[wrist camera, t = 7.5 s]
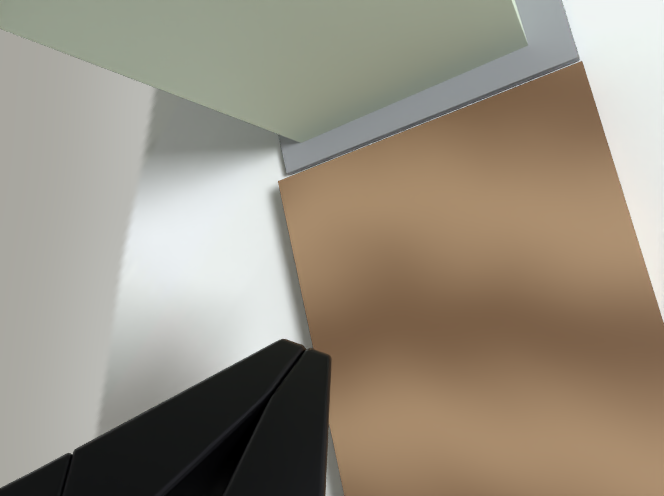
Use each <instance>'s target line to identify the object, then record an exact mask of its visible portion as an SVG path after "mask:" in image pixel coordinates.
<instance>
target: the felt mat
mask: <svg viewBox="0 0 664 496" xmlns="http://www.w3.org/2000/svg"><path fill="white" fill-rule="evenodd" d="M515 2H516V6H517V9H518V12H519V16H520V19H521V23H522V26H523V29H524V33H525V36H526V39H527V43H528V46H526V47H523V48H521V49H519V50H516V51H514V52H512V53H509V54H507V55H505V56H502V57H500V58H498V59H495V60H493V61H491V62H488V63H486V64H484V65H481V66H479V67H477V68H474V69H472V70H470V71H467V72H465V73H463V74H460V75H458V76H456V77H453V78H451V79H449V80H446V81H444V82H442V83H439V84H437V85H435V86H432V87H430V88H428V89H425V90H423V91H421V92H418V93H416V94H414V95H411V96H409V97H407V98H405V99H402V100H400V101H398V102H395V103H393V104H391V105H388V106H386V107H384V108H381V109H379V110H377V111H374V112H372V113H370V114H367V115H365V116H363V117H360V118H358V119H356V120H353V121H351V122H349V123H346V124H344V125H342V126H339V127H337V128H335V129H332V130H330V131H328V132H325V133H323V134H321V135H318V136H316V137H314V138H311V139H309V140H307V141H304V142H302V143H300V142H297V141H295V140H292V139H290V138H287V137H284V136H282V135H279V134H278V135H279V140H280V145H281V149H282V154H283V159H284V163H285V168H286V173H287V174H290V175H292V174H294V173H297V172H299V171H302V170H304V169H307V168H309V167H312V166H314V165H317V164H319V163H322V162H324V161H327V160H330V159H332V158H335V157H337V156H340V155H342V154H345V153H347V152H350V151H352V150H355V149H357V148H360V147H362V146H365V145H367V144H370V143H372V142H375V141H377V140H380V139H382V138H385V137H387V136H390V135H392V134H395V133H398V132H400V131H403V130H405V129H408V128H410V127H413V126H415V125H418V124H420V123H423V122H425V121H428V120H430V119H433V118H435V117H438V116H440V115H443V114H445V113H448V112H450V111H453V110H455V109H458V108H461V107H463V106H466V105H468V104H471V103H473V102H476V101H478V100H481V99H483V98H486V97H488V96H491V95H493V94H496V93H498V92H501V91H503V90H506V89H508V88H511V87H513V86H516V85H518V84H521V83H524V82H526V81H529V80H531V79H534V78H536V77H539V76H541V75H544V74H546V73H549V72H551V71H554V70H556V69H559V68H561V67H564V66H566V65H569V64H571V63H574V62H576V61H579V60H580V59H579V55H578V51H577V48H576V45H575V42H574V38H573V35H572V32H571V29H570V26H569V22H568V19H567V16H566V13H565V9H564V6H563V3H562V0H515Z"/></svg>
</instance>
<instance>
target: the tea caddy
mask: <svg viewBox="0 0 664 496" xmlns="http://www.w3.org/2000/svg"><path fill="white" fill-rule="evenodd" d="M0 29H2V30H4V31H7V32H10V33H13V34H15V35H18V36H20V37H23V38H26V39H28V40H31V41H34V42H36V43H39V44H41V45H44V46H47V47H49V48H52V49H55V50H57V51H60V52H62V53H65V54H68V55H70V56H73V57H76V58H78V59H81V60H84V61H87V62H89V63H92V64H94V65H97V66H99V67H102V68H105V69H108V70H110V71H113V72H115V73H118V74H121V75H123V76H126V77H128V78H131V79H134V80H136V81H139V82H142V83H145V84H147V85H150V86H152V87H155V88H158V89H160V90H163V91H165V92H168V93H171V94H173V95H176V96H179V97H181V98H184V99H187V100H189V101H192V102H194V103H197V104H200V105H202V106H205V107H208V108H210V109H213V110H216V111H218V112H221V113H224V114H226V115H229V116H231V117H234V118H237V119H239V120H242V121H245V122H247V123H250V124H253V125H255V126H258V127H260V128H263V129H266V130H268V131H271V132H274V133H276V134H279V135H282V136H284V137H287V138H290V139H292V140H295V141H297V142H300V143H302V142H304V141H307V140H309V139H311V138H314V137H316V136H318V135H321V134H323V133H325V132H328V131H330V130H332V129H335V128H337V127H339V126H342V125H344V124H346V123H349V122H351V121H353V120H356V119H358V118H360V117H363V116H365V115H367V114H370V113H372V112H374V111H377V110H379V109H381V108H384V107H386V106H388V105H391V104H393V103H395V102H398V101H400V100H402V99H405V98H407V97H409V96H411V95H414V94H416V93H418V92H421V91H423V90H425V89H428V88H430V87H432V86H435V85H437V84H439V83H442V82H444V81H446V80H449V79H451V78H453V77H456V76H458V75H460V74H463V73H465V72H467V71H470V70H472V69H474V68H477V67H479V66H481V65H484V64H486V63H488V62H491V61H493V60H495V59H498V58H500V57H502V56H505V55H507V54H509V53H512V52H514V51H516V50H519V49H521V48H523V47H526V46H528V43H527V39H526V36H525V33H524V29H523V26H522V23H521V19H520V16H519V12H518V9H517V6H516V2H515V0H0Z"/></svg>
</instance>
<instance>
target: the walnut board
mask: <svg viewBox="0 0 664 496" xmlns="http://www.w3.org/2000/svg"><path fill="white" fill-rule="evenodd" d="M278 184H279V189H280V193H281V198H282V203H283V208H284V212H285V217H286V222H287V227H288V231H289V236H290V241H291V245H292V250H293V255H294V260H295V264H296V269H297V274H298V279H299V283H300V288H301V293H302V298H303V302H304V307H305V312H306V316H307V321H308V326H309V331H310V335H311V340H312V345H313V349H315V350H318V351H321V352H323V353H326V354H329V355H330V356H331V358H332V365H331V386H330V407H329V425H330V430H331V435H332V439H333V444H334V449H335V454H336V458H337V463H338V468H339V473H340V477H341V482H342V487H343V492H344V496H664V323H663V320H662V316H661V313H660V310H659V307H658V304H657V300H656V297H655V294H654V291H653V287H652V284H651V281H650V278H649V275H648V271H647V268H646V265H645V262H644V258H643V255H642V252H641V249H640V246H639V242H638V239H637V236H636V233H635V230H634V226H633V223H632V220H631V217H630V213H629V210H628V207H627V204H626V201H625V197H624V194H623V191H622V188H621V184H620V181H619V178H618V175H617V172H616V168H615V165H614V162H613V159H612V156H611V152H610V149H609V146H608V143H607V139H606V136H605V133H604V130H603V127H602V123H601V120H600V117H599V114H598V111H597V107H596V104H595V101H594V98H593V94H592V91H591V88H590V85H589V82H588V78H587V75H586V72H585V69H584V65H583V62H582V61H581V62H578V63H576V64H573V65H571V66H568V67H566V68H563V69H560V70H558V71H555V72H553V73H550V74H548V75H545V76H543V77H540V78H538V79H535V80H533V81H530V82H528V83H525V84H523V85H520V86H518V87H515V88H512V89H510V90H507V91H505V92H502V93H500V94H497V95H495V96H492V97H490V98H487V99H485V100H482V101H480V102H477V103H475V104H472V105H469V106H467V107H464V108H462V109H459V110H457V111H454V112H452V113H449V114H447V115H444V116H442V117H439V118H437V119H434V120H432V121H429V122H426V123H424V124H421V125H419V126H416V127H414V128H411V129H409V130H406V131H404V132H401V133H399V134H396V135H394V136H391V137H389V138H386V139H383V140H381V141H378V142H376V143H373V144H371V145H368V146H366V147H363V148H361V149H358V150H356V151H353V152H351V153H348V154H346V155H343V156H341V157H338V158H335V159H333V160H330V161H328V162H325V163H323V164H320V165H318V166H315V167H313V168H310V169H308V170H305V171H303V172H300V173H298V174H295V175H292V176H290V177H287V178H285V179H282V180H280V181H278Z"/></svg>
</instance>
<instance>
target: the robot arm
mask: <svg viewBox="0 0 664 496" xmlns="http://www.w3.org/2000/svg"><path fill="white" fill-rule="evenodd" d="M331 365H332V358H331V356H330V355H329V354H326V353H323V352H321V351H318V350H315V349H312V348H309V349H306V348H305V347H304V346H303V345H301V344H298V343H295V342H292V341H289V340H287V339H281V340H278V341H276V342H274V343H272V344H271V345H269V346H267V347H265V348H263V349H261V350H259V351H258V352H256V353H254V354H252V355H250V356H248V357H246V358H244V359H243V360H241V361H239V362H237V363H235V364H233V365H231V366H230V367H228V368H226V369H224V370H222V371H220V372H218V373H217V374H215V375H213V376H211V377H209V378H207V379H205V380H203V381H202V382H200V383H198V384H196V385H194V386H192V387H190V388H189V389H187V390H185V391H183V392H181V393H179V394H177V395H175V396H174V397H172V398H170V399H168V400H166V401H164V402H162V403H161V404H159V405H157V406H155V407H153V408H151V409H149V410H147V411H146V412H144V413H142V414H140V415H138V416H136V417H134V418H133V419H131V420H129V421H127V422H125V423H123V424H121V425H119V426H118V427H116V428H114V429H112V430H110V431H108V432H106V433H105V434H103V435H101V436H99V437H97V438H95V439H93V440H92V441H90V442H88V443H86V444H84V445H82V446H80V447H78V448H77V449H75V450H74V452H73V455H72V454H71V453H67V454H65V455H63V456H61V457H60V458H58V459H56V460H54V461H52V462H50V463H48V464H46V465H44V466H43V467H41V468H39V469H37V470H35V471H33V472H31V473H29V474H27V475H25V476H23V477H21V478H19V479H17V480H15V481H13V482H11V483H9V484H8V485H6V486H3V487H2V488H0V496H325V492H326V470H327V449H328V428H329V407H330V386H331Z"/></svg>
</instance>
